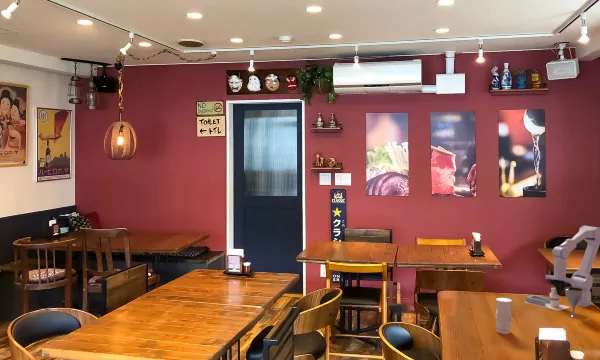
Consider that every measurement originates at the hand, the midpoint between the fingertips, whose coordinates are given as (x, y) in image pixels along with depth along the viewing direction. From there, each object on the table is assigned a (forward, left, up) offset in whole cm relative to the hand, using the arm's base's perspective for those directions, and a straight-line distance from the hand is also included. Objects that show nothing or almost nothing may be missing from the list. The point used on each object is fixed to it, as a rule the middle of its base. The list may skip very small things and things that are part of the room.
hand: (559, 294), depth 278 cm
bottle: (0, -2, -7) cm, 7 cm away
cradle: (0, -7, -8) cm, 10 cm away
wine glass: (+11, +13, -8) cm, 19 cm away
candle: (+59, +4, -8) cm, 60 cm away
